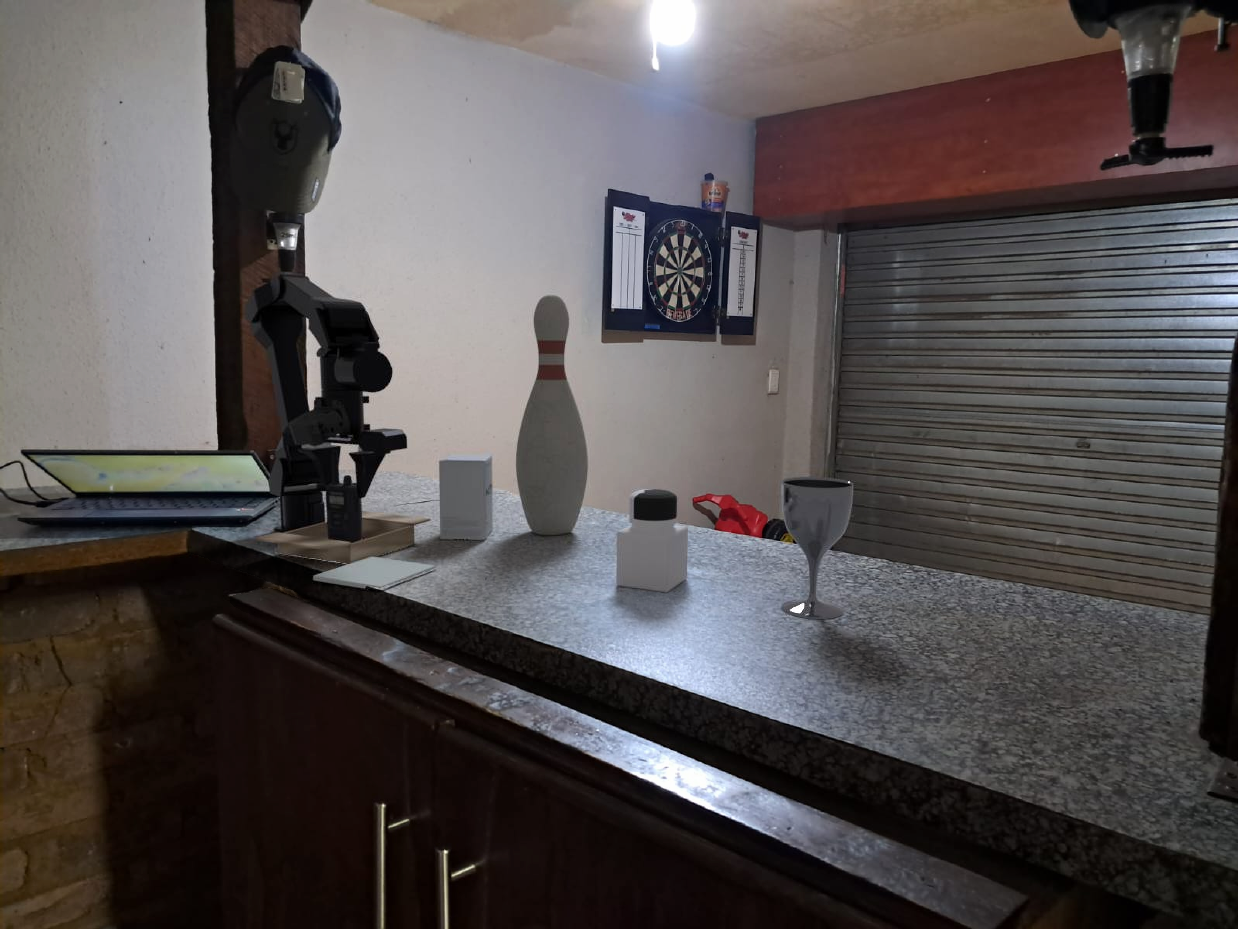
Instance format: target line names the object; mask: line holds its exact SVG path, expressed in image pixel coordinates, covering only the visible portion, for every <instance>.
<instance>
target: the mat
mask: <svg viewBox="0 0 1238 929" xmlns="http://www.w3.org/2000/svg"><path fill="white" fill-rule="evenodd" d="M434 568H436V569H437V565H431V564H425V563H419V562H413V561H412V562H411V561H405V560H399V559H398V560H396V559H390V558H385V557H369V558H366V559H363V560H360V561H357V562H354V563H351V564H348V565H342V566H339V567H336V568H332V569H330V570H326V571H324V572H321V573H317V574H315V575H312V576H313V577H312V580H313V581H317V582H321V583H322V582H323V583H327V584H335V585H340V586H348V587H352V588H360V589H365V588H366V586H372V587H378V588H381V587H384V586H386V585H391V584H393V583H396V582H400V581H402V580H405V579H407V578H411V577H413V576H415V575H419V574H422V573H423V572H428V571H430V570H431V569H434ZM365 590H366V589H365Z"/></svg>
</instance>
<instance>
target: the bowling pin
mask: <svg viewBox="0 0 1238 929" xmlns="http://www.w3.org/2000/svg"><path fill="white" fill-rule="evenodd" d="M569 326H570V315H569V312H568V308H567V305H566V303H565V302H564V300H563V299H562V297H560V296H558V295H556V294H555V295H554V294H547V295H543V296H542V297H541V298H540V299H539V300H538V302H537V304H536V306H535V309H534V313H533V328H534V335H535V338H536V344H537V350H538V352H537V354H538V368H537V374H536V377H535V380H534V382H533V386H532V389H531V391H530V395H529V397H528V400H527V403H526V406H525V409H524V412H523V415H522V420H521V422H520V428H519V432H518V437H517V443H516V454H515V470H516V472H515V473H516V482H517V487H518V492H519V497H520V502H521V506H522V510H523V514H524V517H525V519H526V523H527V524H528V527H529V529H530V530H531V531H532V532H533V533H534V534H537V535H540V536H557V535H558V536H560V535H565V534H569V533H571V532H572V531H573V530H574V529H575V527H576V524H577V522H578V519H579V517H580V513H581V510H582V505H583V502H584V497H585V494H586V487H587V481H588V472H589V471H588V468H589V460H588V457H589V456H588V448H587V447H588V446H587V441H586V436H585V431H584V427H583V426H584V425H583V421H582V419H581V415H580V411H579V409H578V405H577V402H576V400H575V397H574V394H573V391H572V388H571V385H570V383H569V381H568V378H567V375H566V374H567V373H566V368H565V351H566V350H565V349H566V344H567V338H568V334H569V328H570V327H569Z"/></svg>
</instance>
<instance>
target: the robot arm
mask: <svg viewBox="0 0 1238 929" xmlns="http://www.w3.org/2000/svg"><path fill="white" fill-rule="evenodd" d="M245 303H246V304H245V318H246V321H247V322H248V323H249V325H250V328H251V333H252V337H253V338H254V339H255V340H256V341H257V342H258V343H259V344H260V345H261V346H262V348H264V350H265V351H266V355H267V360H268V365H269V371H270V376H271V380H272V386H273V392H274V397H275V402H276V406H277V412H278V418H279V423H280V428H281V434H282V435H281V438H280V440H279V442H278V445H277V447H276V449H275V452H274V457H275V460H274V462H273V466H272V469H271V471H270V474H269V477H268V479H267V480H268V481H267V483H268V490H269V494H272V495H274V496H276V497H279V509H280V525H279V526H276V527H275V526H274V527H273V531H274V532H279V533H284V532H288V531H292V530H296V529H300V528H304V527H308V526H312V525H316V524H320V523H324V522H326V512H325V511H326V510H325V507H326V505H325V501H324V498H323V497H324V495H323V493H324V492H326V487H327V485H329V484H331V483H332V450H333V449H336V450H337V454H338V466H339V467H340V458H341V450H342V446H341V445H352V446H353V445H355V446H357V451H352V452H351V451H350V452H348V456H349V457H350V459H351V460H352V462H354V465H355V466H354V467H355V480H356V482H355V483H356V485H357V493H358V498H361V499H364V498H365V497H367V493H368V491H369V490H370V487H371V484H372V482H373V481H374V478H375V475H376V473H377V471H378V469H379V467H380V466H381V464H382V462H383V460H384V458H385V457H386V455H388V454H391V453H392V452H394V451H399V450H405V449H408V436H407V434H406V433H405V432H404V430H403V429H400V428H399V429H398V428H385V427H384V428H383V427H382V428H377V429H376V428H375V429H374V428H373V429H371V424H370V423H365V416H364V415H365V414H364V413H365V411H364V404H370V396H368V395H364V393H375V394H376V393H378V392H381V391H383V390H385V389H386V388H387V387H388V386H389V384H390V383H391V381H392V379H393V371H394V370H393V366H392V364H391V362H390V360H389V359H388V357H387V356H386V355H385V354H384V353H382V352H381V351H379V349H380V348H381V345H380V342H379V340H380V336H379V334H378V333H377V330H376V329H375V326H374V324H373V322H372V319H371V317H370V315H369V313H368V311H367V309H366V307H365V305H363V303H362V302H360V301H355V300H353V299H346V298H338V297H335V296H333V295H331V294H330V293H328V292H327V291H326V290H324V289H323V288H321V287H320V286H318V285H317V284H315V283H314V282H312V281H311V279H310V277H309V276H307V275H306V276H305V275H304V274H302V273H288V272H286V273H285V272H279V273H277V274H273V275H272V277H271V279H270V280H269V281H268V282H266V283H264V284H263V285H261V286H259V287H257V288H255V289H253V291H252V292H251V294H250V296H249V297H248V300H247V302H245ZM306 319H308V326H307V327H308V330H309V331H310V333H311V334H312V335H313V337H314V338H315V340H316V341H317V343H318V345H319V346H320V347H319V348H318V349H317V351H316V352H315V353H316V357H317V358H319V366H320V368H319V370H320V371H319V372H320V389H321V390H320V391H321V394H320V395H321V396H315V398H314V399H313V409H310V405H309V400H308V395H307V389H306V383H305V379H304V374H303V368H302V364H301V360H300V353H299V348H298V341H299V339H300V338H301V334H302V332H303V331H304V328H305V324H304V323H305V320H306ZM335 444H337V445H335ZM338 444H341V445H338Z"/></svg>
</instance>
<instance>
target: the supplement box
mask: <svg viewBox="0 0 1238 929" xmlns="http://www.w3.org/2000/svg"><path fill="white" fill-rule="evenodd" d="M438 470H439V471H438V475H439V476H438V478H439V485H438V486H439V487H438V488H439V533H440V534H439V539H440V540H454V539H458V541H459V539H461V540H460V541H485V540H486V539H487V537H488V536H489V535H490V533H491V532H492V531H493V530H494V528H493V527H494V526H493V525H494V524H493V523H494V522H493V519H494V518H493V516H494V514H493V512H494V510H493V506H494V505H493V504H494V503H493V501H494V500H493V496H494V495H493V494H494V493H493V492H494V491H493V489H494V488H493V486H494V485H493V455H492V454H491V455H490V454H448V455H447V456H445V457H443V458H442V459H440V460H438ZM462 539H464V540H462ZM466 539H468V540H466Z"/></svg>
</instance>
